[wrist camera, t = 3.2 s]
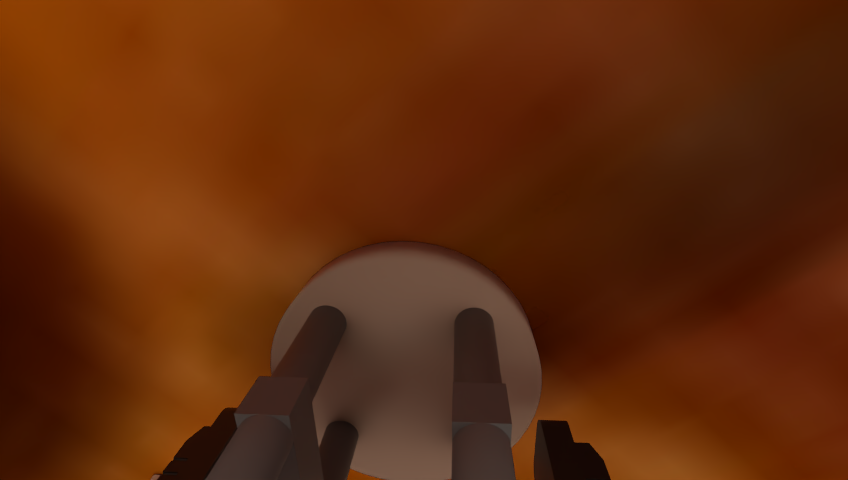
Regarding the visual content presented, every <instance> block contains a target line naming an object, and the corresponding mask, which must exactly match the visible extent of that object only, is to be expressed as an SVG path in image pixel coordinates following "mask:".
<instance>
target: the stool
mask: <svg viewBox="0 0 848 480" xmlns="http://www.w3.org/2000/svg"><path fill="white" fill-rule="evenodd" d="M271 374H272V375H271V377H265V376H259V377H258V379H257V380H256V382H255V383H254V385H253V386H252V388H251V389H250V391H249V392H248V393H247V395H246V396H245V398H244V399H243V401H242V402H241V404H240V405H239V407H238V408H237V410H236V411H235V413H234V416H235V420H236V424H237V431H236V432H235V434H234V435H233V437H232V438H231V440H230V442H229V443H228V445H227V446H226V448H225V449H224V451H223V453H222V454H221V456H220V457H219V459H218V461H217V462H216V464H215V465H214V467H213V468H212V470H211V472H210V473H209V475H208V476H207V478H206V479H205V480H347V477H348V473H349V470H350V469H353V470H355V471H358V472H360V473H363V474H366V475H370V476H373V477H376V478H381V479H386V480H447V479H451V480H516V478H515V471H514V464H513V457H512V450H511V448H512V447H513V446H514V445H515V444H516V443H517V442H518V441H519V439H520V438H521V437H522V435H523V434H524V433H525V431H526V430H527V429H528V427H529V425H530V423H531V421H532V419H533V417H534V415H535V413H536V410H537V407H538V404H539V400H540V394H541V388H542V371H541V365H540V359H539V354H538V351H537V347H536V344H535V340H534V337H533V333H532V330H531V327H530V324H529V321H528V318H527V316H526V314H525V312H524V310H523V308H522V306H521V304H520V302H519V301H518V300H517V298H516V297H515V295H514V294H513V292H512V291H511V290H510V289H509V288H508V287H507V286H506V285H505V283H504V282H503V281H502V280H501V279H500V278H499V277H497V276H496V275H495V274H494V273H492V272H491V271H490V270H489V269H488V268H486V267H485V266H483V265H481V264H480V263H478V262H477V261H475V260H473V259H472V258H470V257H467V256H465V255H463V254H461V253H459V252H457V251H454V250H451V249H448V248H444V247H441V246H438V245H433V244H427V243H422V242H409V241H395V242H383V243H377V244H372V245H367V246H364V247H361V248H358V249H355V250H352V251H350V252H348V253H345V254H343V255H341V256H339V257H337V258H335V259H334V260H333V261H331V262H330V263H328V264H327V265H325V266H324V267H322V268H321V269H320V270H319V271H318V272H317V273H316V274H315V275H314V276H312V278H311V279H310V280H309V281H308V282H307V284H306V285H305V286H304V287H303V289H302V290H301V291H300V293H299V294H298V295H297V297H296V298H295V299H294V301H293V302H292V303H291V305H290V306H289V307H288V309H287V310H286V312H285V314H284V315H283V317H282V319H281V320H280V322H279V325H278V327H277V330H276V333H275V335H274V339H273V344H272V349H271Z"/></svg>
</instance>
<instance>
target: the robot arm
mask: <svg viewBox="0 0 848 480" xmlns="http://www.w3.org/2000/svg"><path fill="white" fill-rule="evenodd" d="M236 410H237V408H225V409H224V410H223V411H222V412H221V413H220V415H219V416H218V418H217V419H216V420H215V422H214V423H213V424H212V426H211V427H210V426H204V427H203V428H202V429H200V430H199V431H198V432H197V433H195V434H194V435H193V436H192V437H190V438H189V439H188V440H187V441H186V442H185V443H184V444H183V446H182V447H181V448H180V450H179V451H178V452H177V454H176V455H175V456H174V459H173V461H171V462H170V463H169V464H168V466H167V467H166V468H165V470H164V471H163V474H162V475H160V476H159V478H158V479H157V480H205V479H206V478H207V476H208V475H209V473H210V472H211V470H212V468H213V467H214V465H215V464H216V462H217V461H218V459H219V457H220V456H221V454H222V453H223V451H224V449H225V448H226V446H227V445H228V443H229V442H230V440H231V438H232V437H233V435H234V434H235V432H236V431H237V424H236V420H235V416H234V413H235V411H236ZM534 478H535V480H611V479H610V476H609V474H608V471H607V468H606V466H605V463H604V460H603V459H602V458H601V457H600V456H599V454H598V453H597V452H596V451H595V450H594V448H593V447H592V446H591V445H590V444H589V443H575V442H574V441H573V437H572V434H571V431H570V428H569V425H568V423H567V421H553V420H538V423H537V432H536V443H535V455H534Z"/></svg>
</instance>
